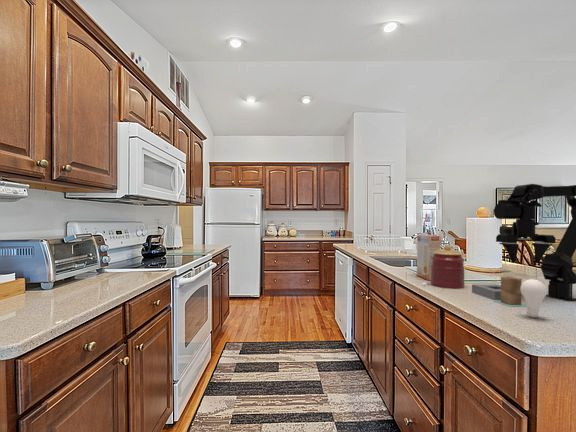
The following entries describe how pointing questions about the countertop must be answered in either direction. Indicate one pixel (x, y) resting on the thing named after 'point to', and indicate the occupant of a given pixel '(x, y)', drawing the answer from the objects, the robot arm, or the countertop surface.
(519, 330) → the countertop surface
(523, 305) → the mat
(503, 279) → the plug
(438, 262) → the canister
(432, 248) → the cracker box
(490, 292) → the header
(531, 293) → the lightbulb
